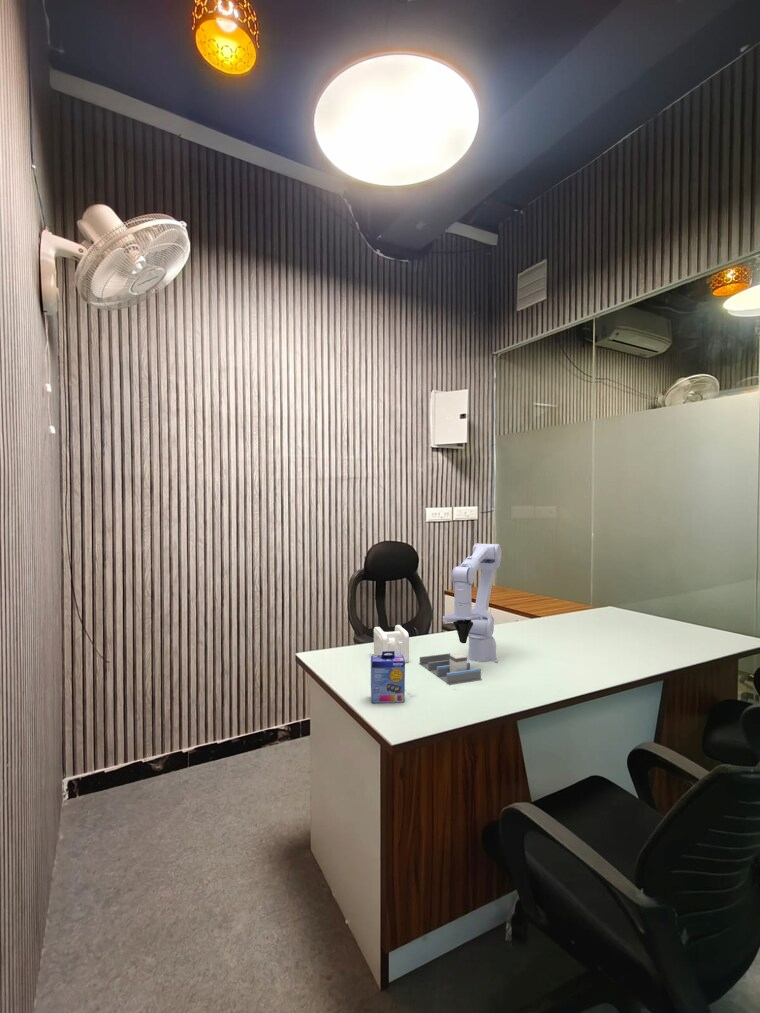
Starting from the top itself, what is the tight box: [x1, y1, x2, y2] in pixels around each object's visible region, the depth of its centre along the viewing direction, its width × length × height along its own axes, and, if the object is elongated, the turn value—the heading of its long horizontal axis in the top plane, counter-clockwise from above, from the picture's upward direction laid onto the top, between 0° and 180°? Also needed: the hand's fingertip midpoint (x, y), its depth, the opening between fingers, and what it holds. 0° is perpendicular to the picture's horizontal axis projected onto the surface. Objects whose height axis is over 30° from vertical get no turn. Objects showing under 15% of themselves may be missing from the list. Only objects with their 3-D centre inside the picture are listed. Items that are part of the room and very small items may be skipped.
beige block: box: [449, 652, 468, 673], centre depth 147 cm, size 4×4×7 cm
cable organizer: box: [373, 624, 410, 663], centre depth 167 cm, size 15×11×12 cm
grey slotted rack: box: [418, 652, 483, 686], centre depth 153 cm, size 12×22×4 cm, turn 21°
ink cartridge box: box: [370, 651, 406, 704], centre depth 132 cm, size 10×6×14 cm, turn 95°
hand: (462, 642), depth 154 cm, fingers closed
